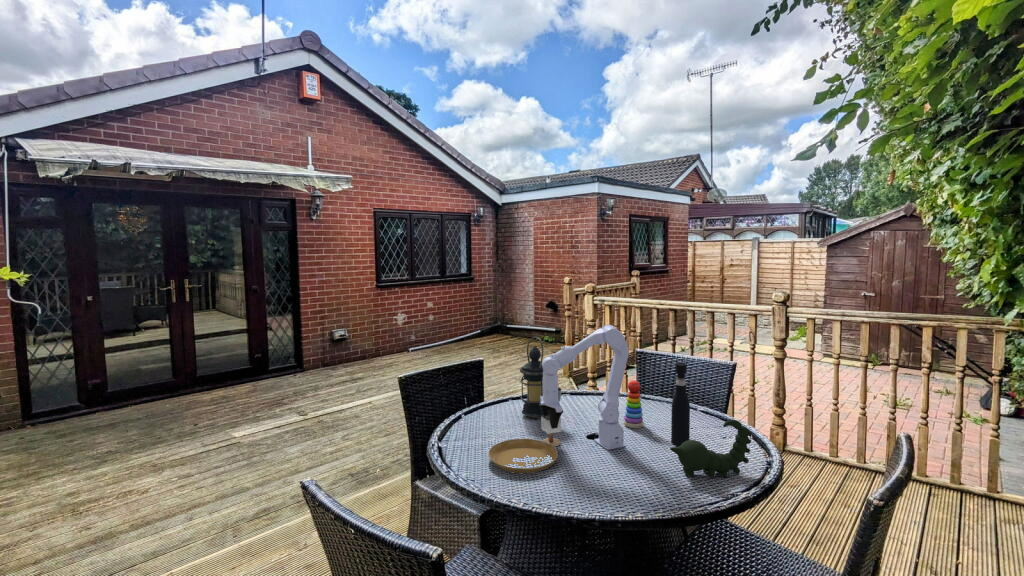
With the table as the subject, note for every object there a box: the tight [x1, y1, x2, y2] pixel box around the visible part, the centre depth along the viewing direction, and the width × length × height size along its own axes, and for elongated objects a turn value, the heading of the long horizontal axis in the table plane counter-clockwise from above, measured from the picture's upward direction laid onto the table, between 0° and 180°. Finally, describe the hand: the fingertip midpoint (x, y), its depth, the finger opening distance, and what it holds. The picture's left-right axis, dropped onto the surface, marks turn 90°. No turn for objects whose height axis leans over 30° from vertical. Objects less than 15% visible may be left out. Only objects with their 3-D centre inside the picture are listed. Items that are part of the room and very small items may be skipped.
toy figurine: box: [669, 419, 752, 479], centre depth 151 cm, size 9×19×25 cm
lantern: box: [519, 336, 544, 419], centre depth 207 cm, size 14×13×35 cm
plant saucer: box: [487, 438, 559, 474], centre depth 164 cm, size 24×24×3 cm
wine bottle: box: [670, 362, 691, 447], centre depth 175 cm, size 6×6×30 cm
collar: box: [540, 415, 562, 435], centre depth 177 cm, size 6×6×5 cm
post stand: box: [541, 433, 561, 448], centre depth 178 cm, size 7×7×6 cm
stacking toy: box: [623, 380, 645, 429], centre depth 194 cm, size 8×8×19 cm
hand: (550, 425), depth 177 cm, fingers closed on collar, 5 cm apart
